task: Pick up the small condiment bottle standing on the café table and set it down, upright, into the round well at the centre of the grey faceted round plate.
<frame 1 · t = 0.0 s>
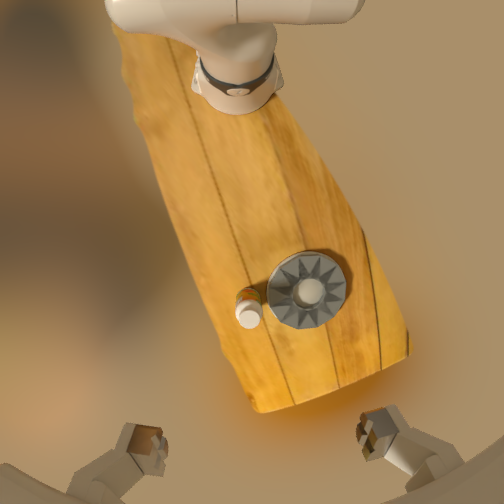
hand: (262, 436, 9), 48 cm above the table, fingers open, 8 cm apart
grey faceted round plate: (306, 290, 59), on the table
supplement bottle: (248, 298, 59), on the table
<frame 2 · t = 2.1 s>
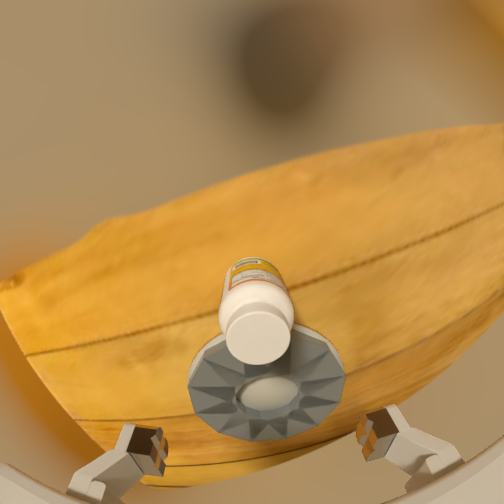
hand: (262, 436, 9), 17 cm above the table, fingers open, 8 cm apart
grey faceted round plate: (266, 386, 29), on the table
supplement bottle: (253, 282, 25), on the table
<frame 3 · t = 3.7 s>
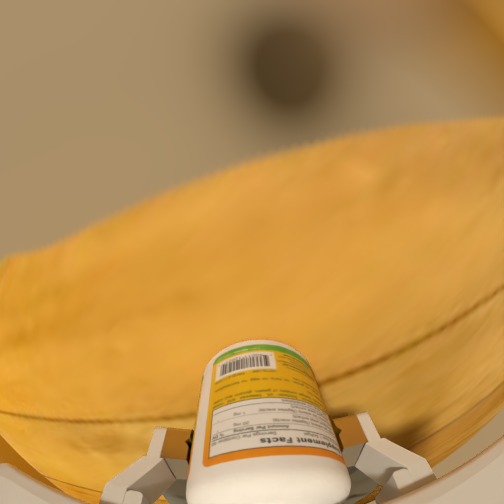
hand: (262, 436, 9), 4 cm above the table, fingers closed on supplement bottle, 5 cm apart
grey faceted round plate: (275, 484, 16), on the table
supplement bottle: (257, 377, 13), on the table, touching gripper
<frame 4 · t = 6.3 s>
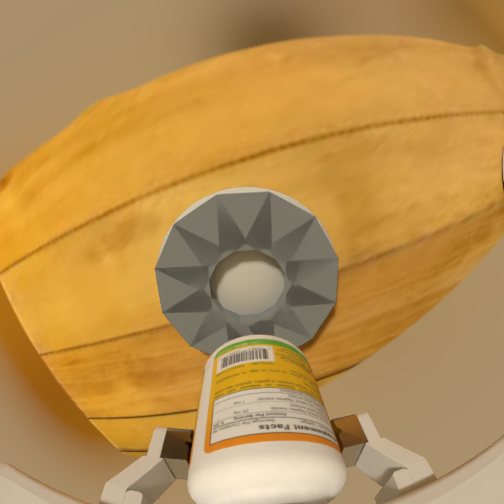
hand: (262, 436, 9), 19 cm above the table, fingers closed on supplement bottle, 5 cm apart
grey faceted round plate: (247, 279, 27), on the table
supplement bottle: (256, 372, 13), point 14 cm above the table, touching gripper
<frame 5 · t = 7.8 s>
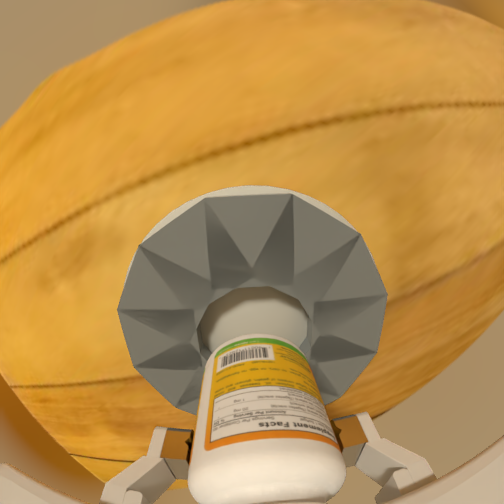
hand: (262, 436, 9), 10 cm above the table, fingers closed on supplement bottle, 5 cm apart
grey faceted round plate: (253, 322, 18), on the table
supplement bottle: (256, 371, 13), point 5 cm above the table, touching gripper
when the fingers open (6 cm above the table, at t = 9.1 s): supplement bottle stays where it is, resting on grey faceted round plate.
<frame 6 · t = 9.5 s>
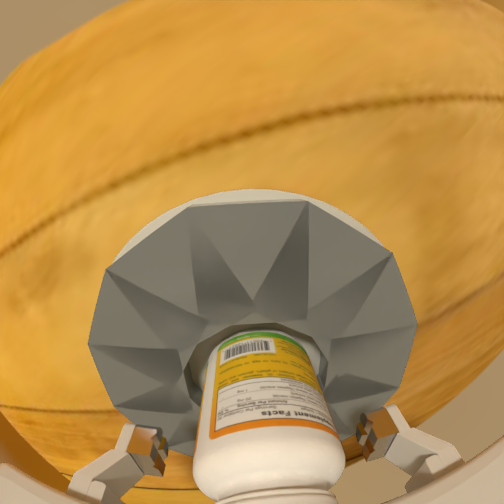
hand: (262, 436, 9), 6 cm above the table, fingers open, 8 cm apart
grey faceted round plate: (254, 358, 14), on the table
supplement bottle: (258, 364, 14), point 1 cm above the table, touching grey faceted round plate
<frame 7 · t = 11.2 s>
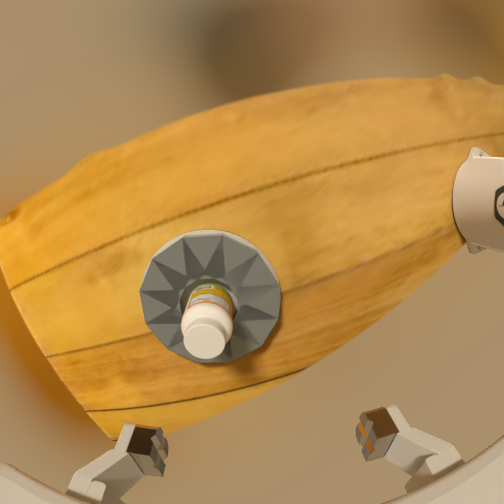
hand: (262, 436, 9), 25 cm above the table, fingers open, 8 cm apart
grey faceted round plate: (209, 299, 34), on the table
supplement bottle: (210, 301, 34), point 1 cm above the table, touching grey faceted round plate
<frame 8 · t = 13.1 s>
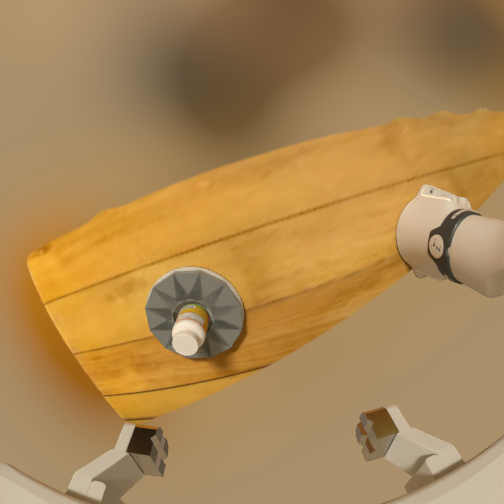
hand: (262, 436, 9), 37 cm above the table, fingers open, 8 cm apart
grey faceted round plate: (194, 313, 48), on the table
supplement bottle: (194, 315, 47), point 1 cm above the table, touching grey faceted round plate
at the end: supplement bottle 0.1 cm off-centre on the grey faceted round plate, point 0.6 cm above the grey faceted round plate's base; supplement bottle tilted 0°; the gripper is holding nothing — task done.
